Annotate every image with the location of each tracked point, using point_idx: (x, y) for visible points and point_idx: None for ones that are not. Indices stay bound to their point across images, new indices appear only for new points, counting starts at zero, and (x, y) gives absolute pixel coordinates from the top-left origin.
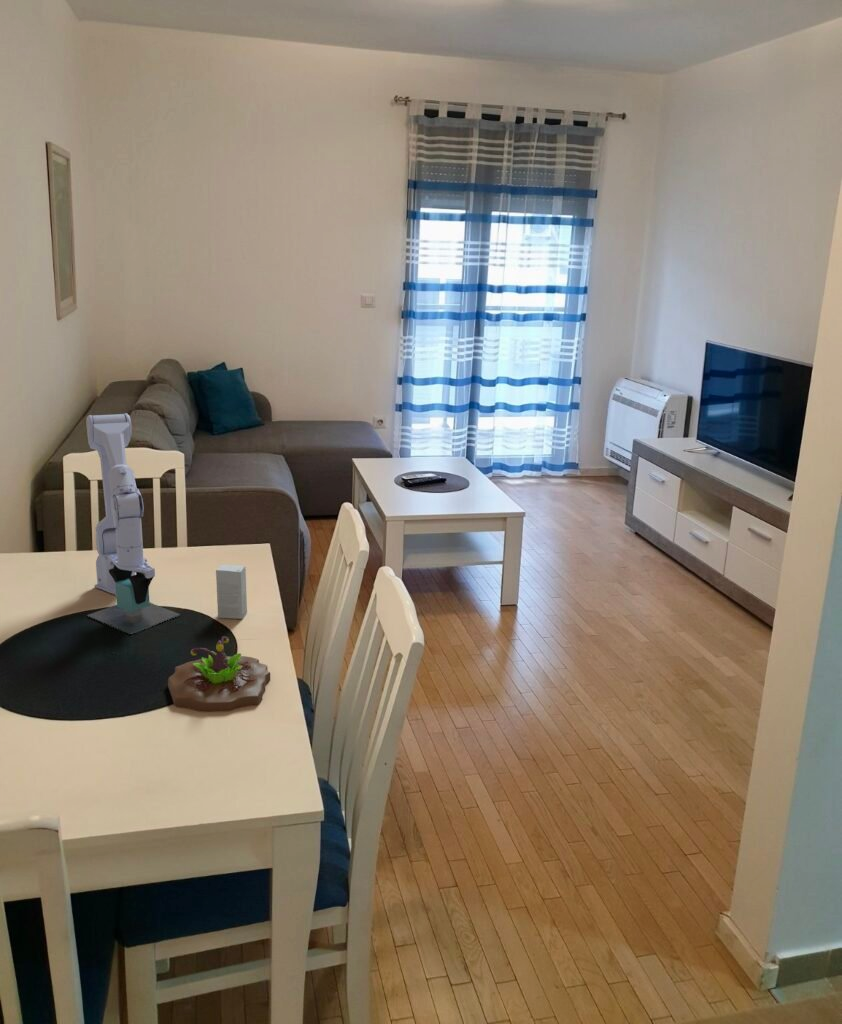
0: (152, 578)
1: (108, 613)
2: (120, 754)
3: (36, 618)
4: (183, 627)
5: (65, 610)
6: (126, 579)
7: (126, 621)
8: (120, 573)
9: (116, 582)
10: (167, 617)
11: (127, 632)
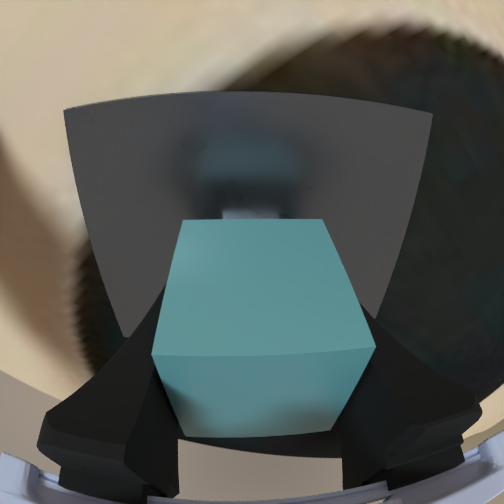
0: (457, 387)
1: (157, 296)
2: (491, 410)
3: (71, 381)
4: (486, 194)
5: (47, 333)
6: (183, 403)
7: None
8: (169, 466)
9: (191, 435)
10: (406, 173)
11: None
